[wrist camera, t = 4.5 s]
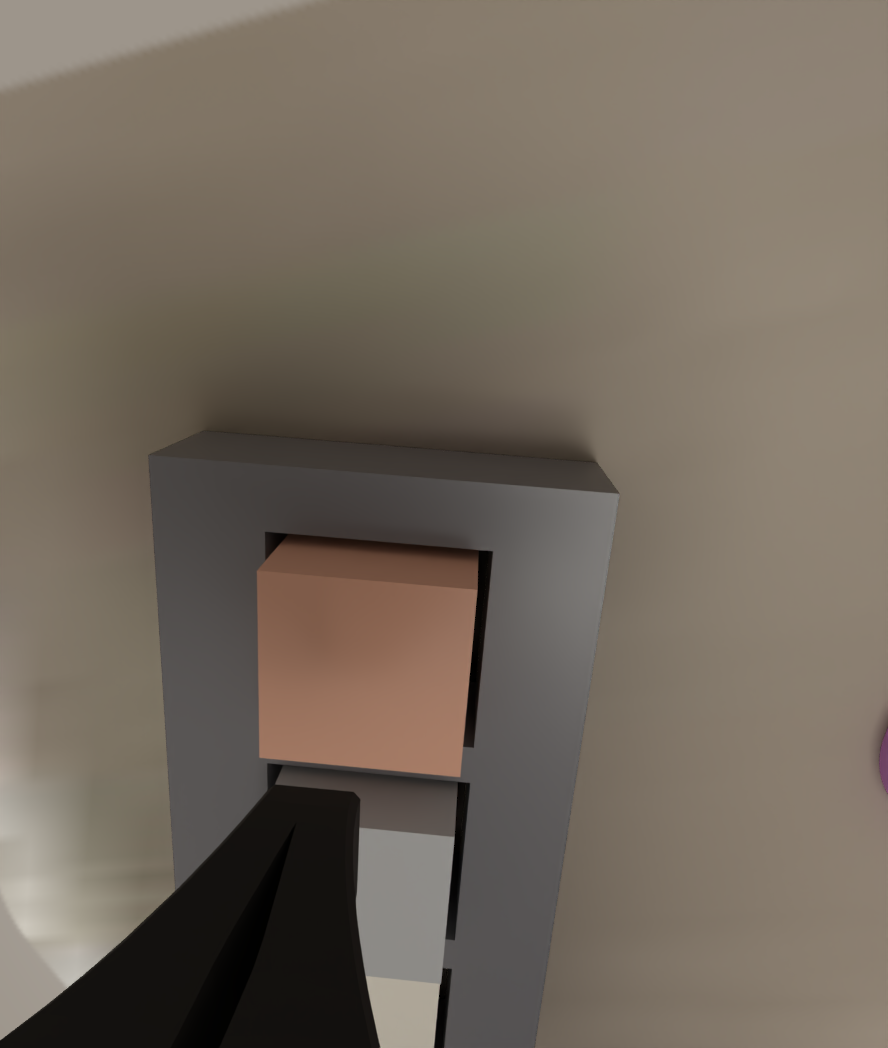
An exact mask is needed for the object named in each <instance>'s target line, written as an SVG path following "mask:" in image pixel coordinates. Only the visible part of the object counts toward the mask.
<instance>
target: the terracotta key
mask: <svg viewBox="0 0 888 1048" xmlns="http://www.w3.org/2000/svg"><path fill="white" fill-rule="evenodd" d="M478 553H479V550H474V549H462V548H450V547H439V546H427V545H415V544H404V543H392V542H380V541H369V540H357V539H345V538H334V537H322V536H311V535H299V534H288V535H287V536H286V538H285V539H284V540H283V541H282V542H281V543H280V545H279V546H278V547H277V548H276V549H275V550H274V551H273V553H272V554H271V555H270V556H269V557H268V558H267V560H266V561H265V562H264V563H263V564H262V565H261V566H260V568H259V569H258V570H257V614H258V687H259V758H267V759H278V760H288V761H298V762H309V763H319V764H329V765H340V766H350V767H360V768H370V769H381V770H391V771H401V772H412V773H422V774H432V775H443V776H453V777H460V774H461V763H462V752H463V741H464V730H465V720H466V709H467V698H468V687H469V676H470V666H471V655H472V644H473V633H474V622H475V612H476V601H477V590H478Z"/></svg>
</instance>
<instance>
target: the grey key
mask: <svg viewBox="0 0 888 1048" xmlns="http://www.w3.org/2000/svg"><path fill="white" fill-rule="evenodd" d="M275 784H277V785H287V786H298V787H309V788H319V789H330V790H340V791H351V792H354V793H355V794H356V795H357V796H358V797H359V798H360V827H359V854H358V882H357V896H356V910H357V920H358V928H359V936H360V943H361V950H362V956H363V963H364V969H365V975H366V976H371V977H380V978H390V979H399V980H408V981H418V982H427V983H437V984H441V979H442V968H443V957H444V946H445V936H446V925H447V914H448V903H449V892H450V882H451V871H452V860H453V849H454V838H455V822H456V805H457V787H458V782H456V781H445V780H435V779H425V778H414V777H404V776H394V775H384V774H373V773H363V772H353V771H342V770H332V769H322V768H311V767H301V766H291V765H283V767H282V770H281V772H280V774H279V776H278V779H277V781H276V783H275Z"/></svg>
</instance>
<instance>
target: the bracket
mask: <svg viewBox="0 0 888 1048" xmlns="http://www.w3.org/2000/svg"><path fill="white" fill-rule="evenodd" d="M879 766H880V774H881V779H882V782H883V785H884V787H885V790H886V792H887V793H888V729H887V731H886V733H885V736H884V739H883V742H882V745H881V750H880V760H879Z"/></svg>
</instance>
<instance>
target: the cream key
mask: <svg viewBox="0 0 888 1048" xmlns="http://www.w3.org/2000/svg"><path fill="white" fill-rule="evenodd" d="M366 981H367V986H368V992H369V997H370V1002H371V1007H372V1012H373V1016H374V1021H375V1026H376V1030H377V1035H378V1039H379V1044H380V1048H434V1042H435V1031H436V1020H437V1009H438V998H439V987H440V984H437V983H427V982H418V981H408V980H399V979H390V978H380V977H371V976H366Z"/></svg>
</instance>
